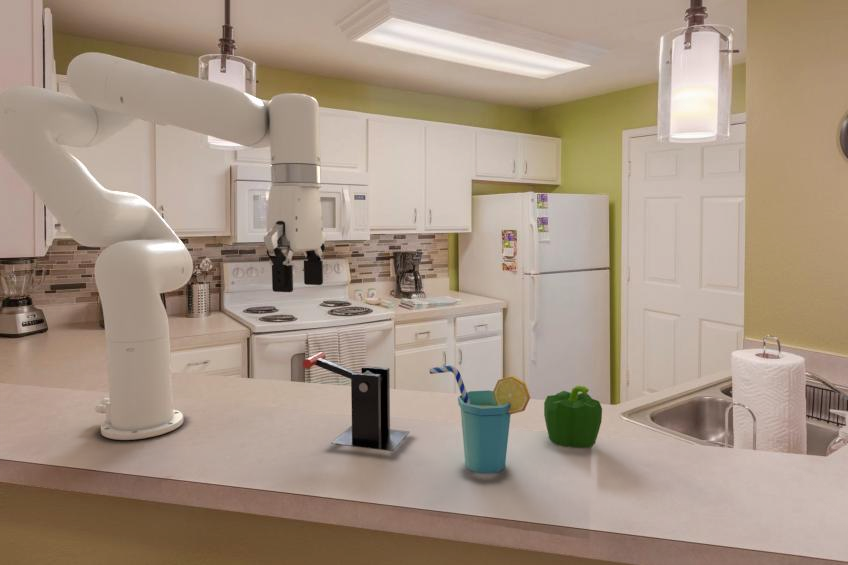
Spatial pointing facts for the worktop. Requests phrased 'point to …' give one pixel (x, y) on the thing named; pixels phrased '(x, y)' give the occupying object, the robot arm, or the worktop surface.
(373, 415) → the bracket
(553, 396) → the bell pepper
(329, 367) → the lever
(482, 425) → the cup
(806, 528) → the worktop surface
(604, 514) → the worktop surface
